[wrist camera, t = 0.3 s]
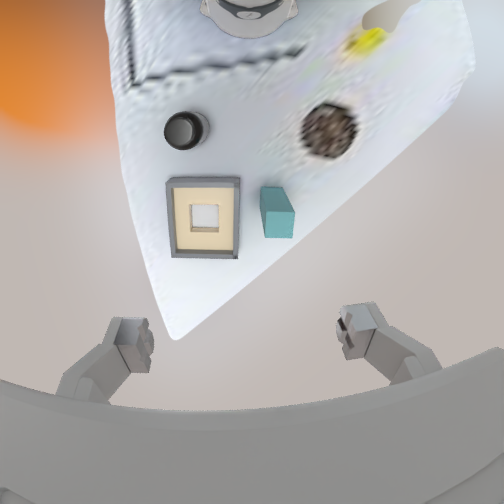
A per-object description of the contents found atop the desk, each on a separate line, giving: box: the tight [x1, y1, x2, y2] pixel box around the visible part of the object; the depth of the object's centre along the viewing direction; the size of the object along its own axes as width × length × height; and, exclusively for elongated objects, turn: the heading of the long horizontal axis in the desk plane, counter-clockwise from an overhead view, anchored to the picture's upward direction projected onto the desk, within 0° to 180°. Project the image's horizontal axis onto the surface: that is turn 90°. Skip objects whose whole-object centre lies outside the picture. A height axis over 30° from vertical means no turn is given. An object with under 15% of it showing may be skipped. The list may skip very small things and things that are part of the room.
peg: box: [260, 187, 295, 238], centre depth 51 cm, size 4×4×15 cm
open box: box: [166, 177, 240, 259], centre depth 57 cm, size 16×14×4 cm
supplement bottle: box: [164, 111, 209, 150], centre depth 45 cm, size 7×7×12 cm
